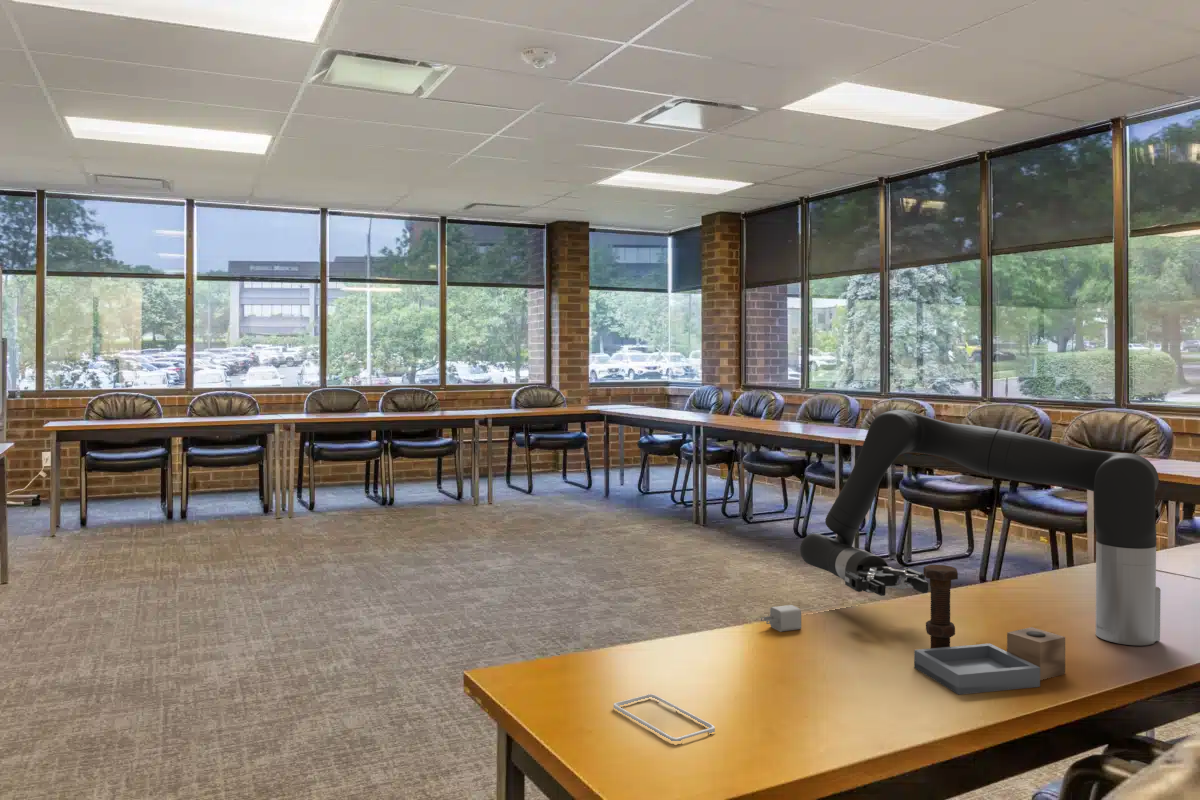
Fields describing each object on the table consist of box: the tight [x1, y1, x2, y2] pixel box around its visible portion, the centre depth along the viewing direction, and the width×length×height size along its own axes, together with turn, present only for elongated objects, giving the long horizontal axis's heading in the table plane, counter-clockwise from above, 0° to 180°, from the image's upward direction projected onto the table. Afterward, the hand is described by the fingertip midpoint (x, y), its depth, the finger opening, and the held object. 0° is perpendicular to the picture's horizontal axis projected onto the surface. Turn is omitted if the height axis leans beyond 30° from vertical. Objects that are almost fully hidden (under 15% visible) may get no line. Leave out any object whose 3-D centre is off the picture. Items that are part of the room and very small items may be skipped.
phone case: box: [613, 693, 716, 741], centre depth 122 cm, size 7×1×15 cm
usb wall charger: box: [760, 604, 802, 633], centre depth 164 cm, size 4×7×4 cm, turn 110°
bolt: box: [923, 564, 959, 648], centre depth 148 cm, size 6×5×15 cm
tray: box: [913, 642, 1041, 696], centre depth 137 cm, size 14×12×3 cm
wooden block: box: [1006, 626, 1066, 681], centre depth 139 cm, size 6×6×6 cm
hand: (905, 589), depth 159 cm, fingers open, 8 cm apart
